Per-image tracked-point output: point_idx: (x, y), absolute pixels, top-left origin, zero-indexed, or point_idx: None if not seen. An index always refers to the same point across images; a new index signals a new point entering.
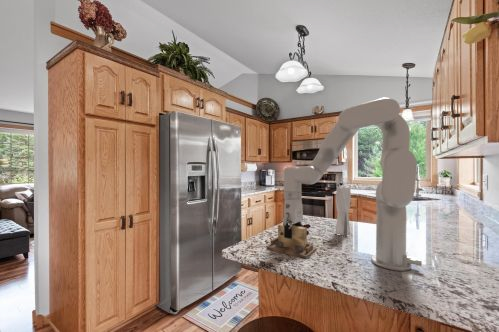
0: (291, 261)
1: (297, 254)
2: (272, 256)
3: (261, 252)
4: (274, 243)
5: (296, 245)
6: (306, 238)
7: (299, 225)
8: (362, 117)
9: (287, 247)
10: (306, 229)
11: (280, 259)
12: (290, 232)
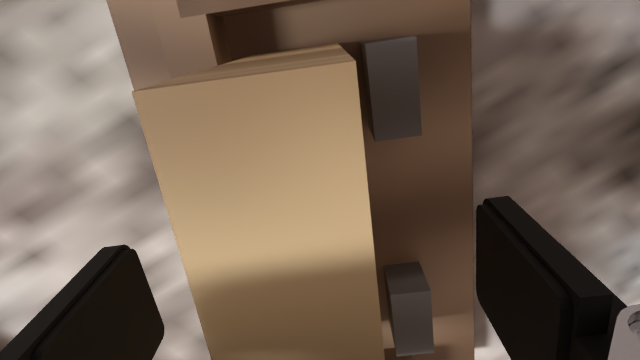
0: (626, 16)
1: (469, 45)
2: (603, 219)
3: None
4: None
5: (377, 132)
6: (225, 64)
7: (58, 357)
8: None
9: None
10: (172, 81)
11: (634, 127)
12: (561, 261)
